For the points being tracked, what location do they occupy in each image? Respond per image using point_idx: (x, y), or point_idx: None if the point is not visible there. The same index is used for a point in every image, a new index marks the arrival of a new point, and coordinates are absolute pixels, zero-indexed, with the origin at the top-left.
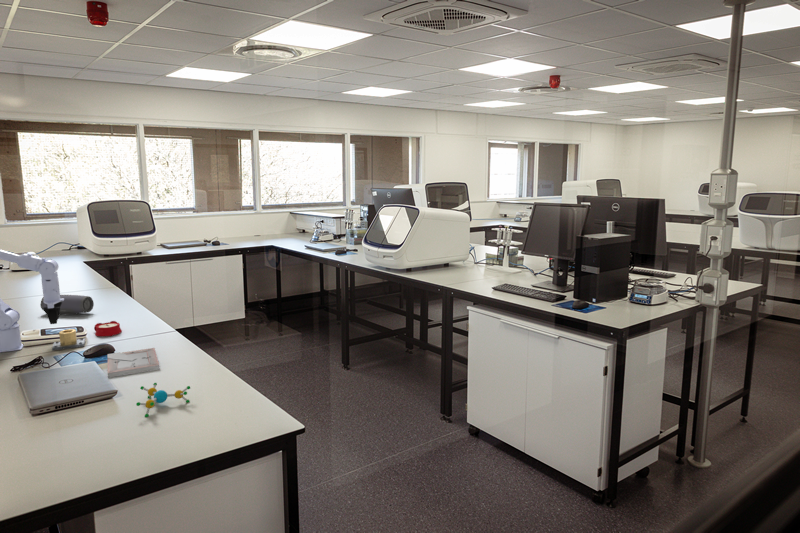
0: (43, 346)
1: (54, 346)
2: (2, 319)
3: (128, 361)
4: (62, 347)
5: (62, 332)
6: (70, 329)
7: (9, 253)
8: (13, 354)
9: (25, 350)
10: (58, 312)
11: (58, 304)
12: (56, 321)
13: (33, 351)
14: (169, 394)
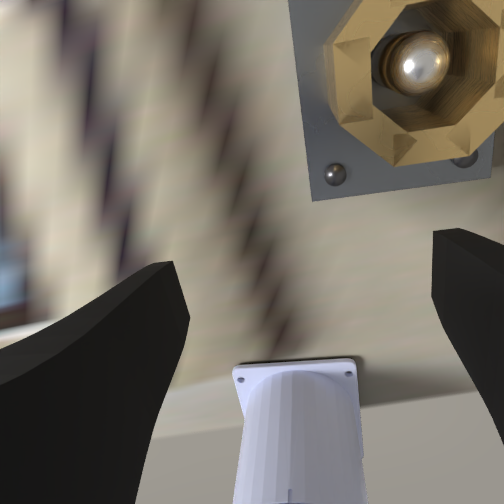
0: (319, 257)
1: (472, 163)
2: None
3: None
4: None
5: (459, 121)
6: (342, 52)
7: None
8: (432, 372)
9: (371, 334)
10: (127, 312)
11: (21, 443)
12: (480, 240)
13: (423, 288)
14: None
